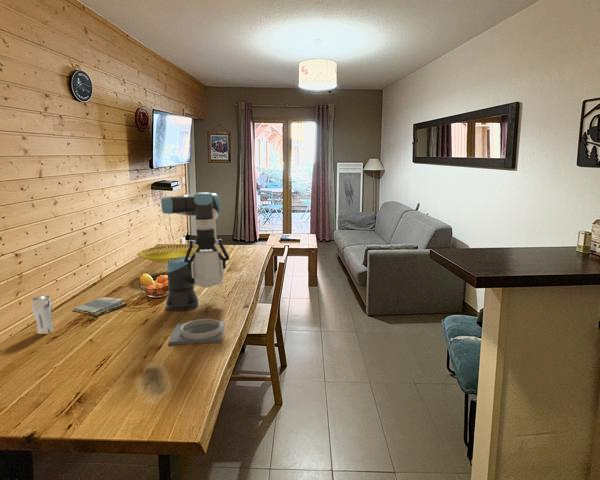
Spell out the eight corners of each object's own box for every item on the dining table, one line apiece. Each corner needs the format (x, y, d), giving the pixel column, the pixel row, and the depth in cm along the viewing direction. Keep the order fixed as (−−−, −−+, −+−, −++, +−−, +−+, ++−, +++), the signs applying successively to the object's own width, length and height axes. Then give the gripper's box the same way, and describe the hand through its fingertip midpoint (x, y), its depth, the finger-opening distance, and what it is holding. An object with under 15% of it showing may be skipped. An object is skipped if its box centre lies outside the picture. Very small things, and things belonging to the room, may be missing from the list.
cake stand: (221, 269, 278) (219, 246, 275) (178, 287, 242) (176, 261, 239) (170, 264, 295) (169, 242, 292) (124, 280, 259) (121, 255, 256)
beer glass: (58, 328, 187) (53, 294, 184) (49, 335, 180) (44, 300, 177) (41, 329, 187) (36, 295, 184) (32, 335, 180) (27, 300, 177)
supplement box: (223, 283, 196) (221, 250, 193) (206, 288, 189) (204, 254, 186) (210, 280, 202) (208, 248, 199) (194, 284, 195) (191, 251, 192)
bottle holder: (168, 345, 169) (167, 337, 168) (177, 326, 187) (176, 319, 187) (221, 342, 170) (220, 334, 170) (224, 323, 189) (224, 316, 188)
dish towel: (71, 311, 209) (70, 305, 208) (103, 300, 224) (103, 294, 224) (97, 318, 200) (97, 311, 200) (129, 305, 216) (128, 299, 215)
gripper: (174, 230, 186) (178, 280, 190) (233, 228, 188) (235, 277, 192) (177, 228, 193) (181, 275, 197) (233, 226, 195) (236, 273, 199)
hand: (208, 276), depth 195 cm, fingers closed on supplement box, 12 cm apart
